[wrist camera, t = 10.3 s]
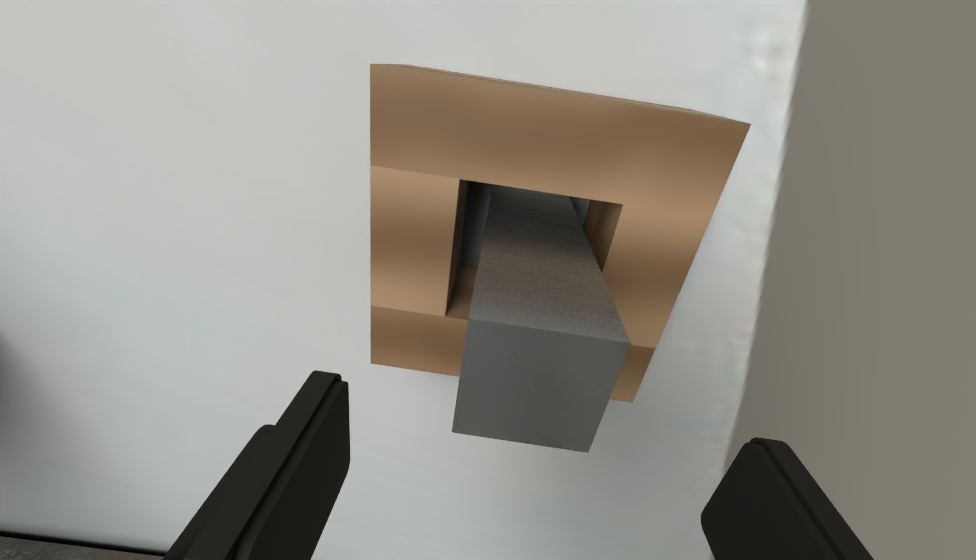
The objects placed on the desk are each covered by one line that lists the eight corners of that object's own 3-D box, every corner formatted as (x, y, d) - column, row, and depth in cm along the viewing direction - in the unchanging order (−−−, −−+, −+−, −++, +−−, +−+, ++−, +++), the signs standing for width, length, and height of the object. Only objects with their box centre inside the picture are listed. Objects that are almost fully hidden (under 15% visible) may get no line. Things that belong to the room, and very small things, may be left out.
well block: (609, 338, 25) (632, 402, 20) (398, 306, 25) (370, 363, 20) (690, 109, 19) (751, 123, 14) (407, 64, 19) (370, 64, 14)
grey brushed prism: (551, 261, 23) (588, 452, 12) (483, 250, 23) (451, 432, 12) (568, 193, 21) (630, 343, 10) (493, 181, 21) (468, 318, 10)
